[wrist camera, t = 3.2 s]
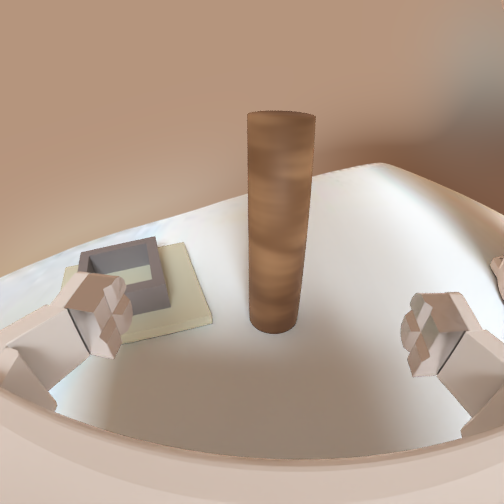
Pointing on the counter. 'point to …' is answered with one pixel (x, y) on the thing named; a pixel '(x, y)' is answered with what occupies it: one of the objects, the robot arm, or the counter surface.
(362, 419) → the counter surface
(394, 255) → the counter surface
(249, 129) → the walnut dowel
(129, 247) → the dowel holder
